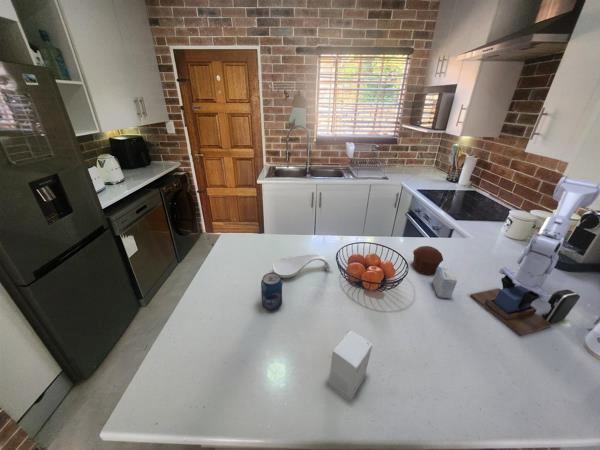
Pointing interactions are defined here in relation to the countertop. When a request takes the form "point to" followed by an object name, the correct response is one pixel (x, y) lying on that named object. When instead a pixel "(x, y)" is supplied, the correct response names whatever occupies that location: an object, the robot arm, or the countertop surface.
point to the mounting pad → (512, 314)
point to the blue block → (511, 299)
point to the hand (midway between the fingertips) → (512, 301)
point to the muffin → (426, 259)
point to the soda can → (271, 292)
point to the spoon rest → (296, 264)
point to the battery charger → (560, 305)
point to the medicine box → (444, 282)
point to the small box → (349, 364)
